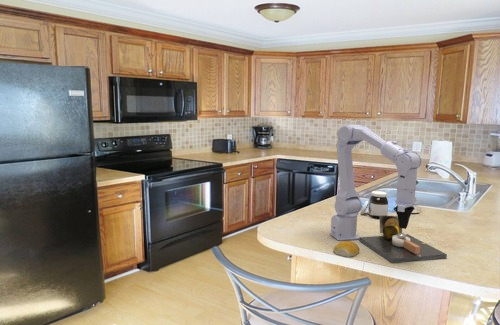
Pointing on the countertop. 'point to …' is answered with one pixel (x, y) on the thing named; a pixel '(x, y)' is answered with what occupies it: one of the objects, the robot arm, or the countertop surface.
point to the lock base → (401, 249)
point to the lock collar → (405, 244)
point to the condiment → (389, 226)
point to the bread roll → (346, 249)
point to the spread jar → (377, 204)
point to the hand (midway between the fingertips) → (403, 227)
